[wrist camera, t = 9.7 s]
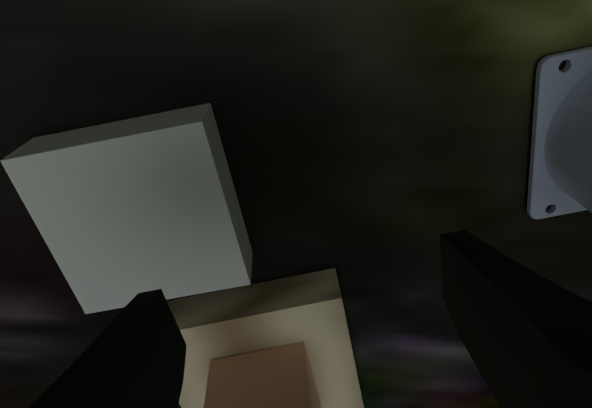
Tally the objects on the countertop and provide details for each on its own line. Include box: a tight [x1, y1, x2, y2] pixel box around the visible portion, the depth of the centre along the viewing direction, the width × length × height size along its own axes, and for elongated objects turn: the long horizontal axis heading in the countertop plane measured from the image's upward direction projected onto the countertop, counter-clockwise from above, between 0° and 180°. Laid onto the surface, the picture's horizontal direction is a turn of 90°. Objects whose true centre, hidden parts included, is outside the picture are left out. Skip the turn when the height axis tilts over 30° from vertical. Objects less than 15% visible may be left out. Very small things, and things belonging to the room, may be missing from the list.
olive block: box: [167, 268, 364, 408], centre depth 25 cm, size 10×10×3 cm
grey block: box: [1, 103, 253, 314], centre depth 20 cm, size 8×8×3 cm
